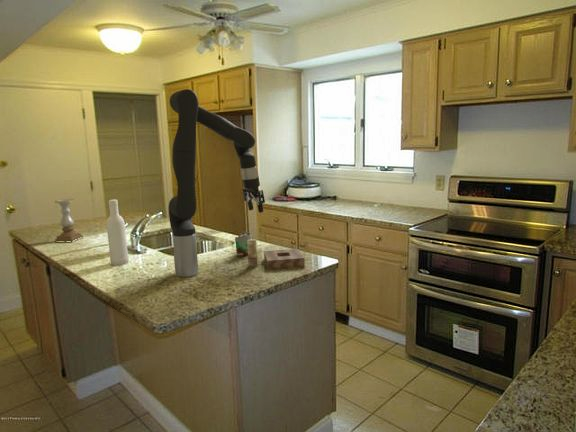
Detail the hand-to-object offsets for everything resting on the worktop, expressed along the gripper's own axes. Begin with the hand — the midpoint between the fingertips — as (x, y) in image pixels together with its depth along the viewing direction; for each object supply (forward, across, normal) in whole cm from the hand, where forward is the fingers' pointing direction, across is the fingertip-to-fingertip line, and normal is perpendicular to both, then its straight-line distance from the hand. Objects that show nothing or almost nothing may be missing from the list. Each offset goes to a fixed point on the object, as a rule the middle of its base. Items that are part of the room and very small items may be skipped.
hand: (256, 211), depth 192 cm
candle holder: (+14, -107, -66) cm, 127 cm away
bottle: (+15, -36, -56) cm, 69 cm away
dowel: (+21, +11, -13) cm, 27 cm away
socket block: (+23, +16, 0) cm, 27 cm away
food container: (+22, -9, -5) cm, 24 cm away
